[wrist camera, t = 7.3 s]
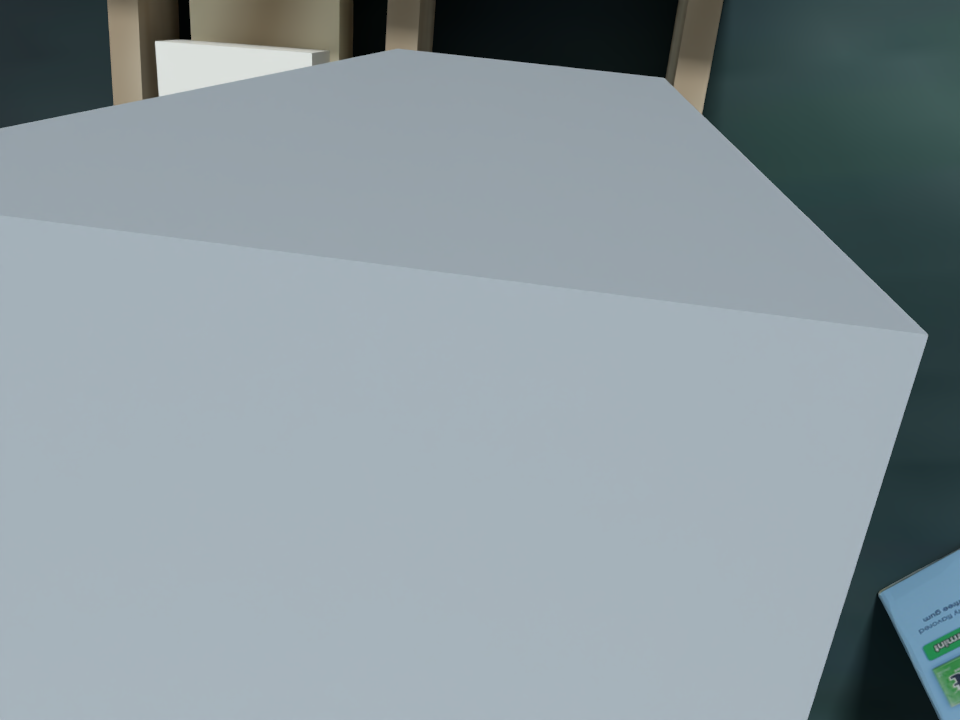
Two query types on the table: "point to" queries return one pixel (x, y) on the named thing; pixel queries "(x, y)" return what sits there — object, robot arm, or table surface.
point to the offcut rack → (410, 25)
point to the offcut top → (224, 63)
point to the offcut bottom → (276, 23)
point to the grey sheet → (426, 405)
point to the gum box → (931, 628)
